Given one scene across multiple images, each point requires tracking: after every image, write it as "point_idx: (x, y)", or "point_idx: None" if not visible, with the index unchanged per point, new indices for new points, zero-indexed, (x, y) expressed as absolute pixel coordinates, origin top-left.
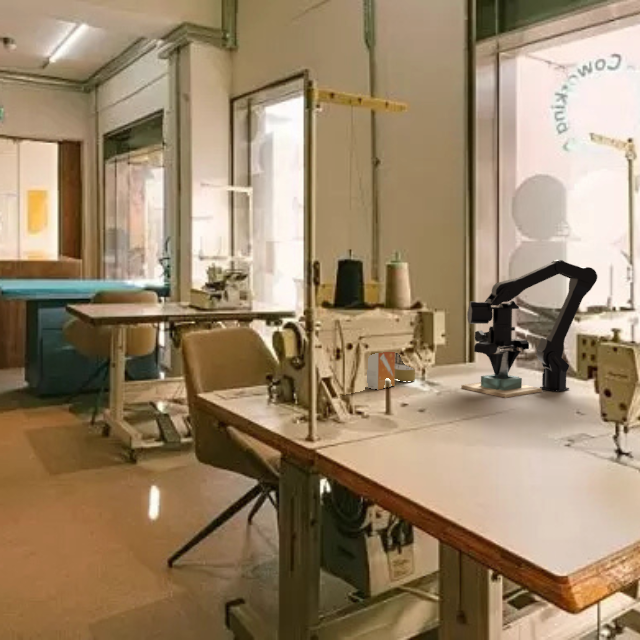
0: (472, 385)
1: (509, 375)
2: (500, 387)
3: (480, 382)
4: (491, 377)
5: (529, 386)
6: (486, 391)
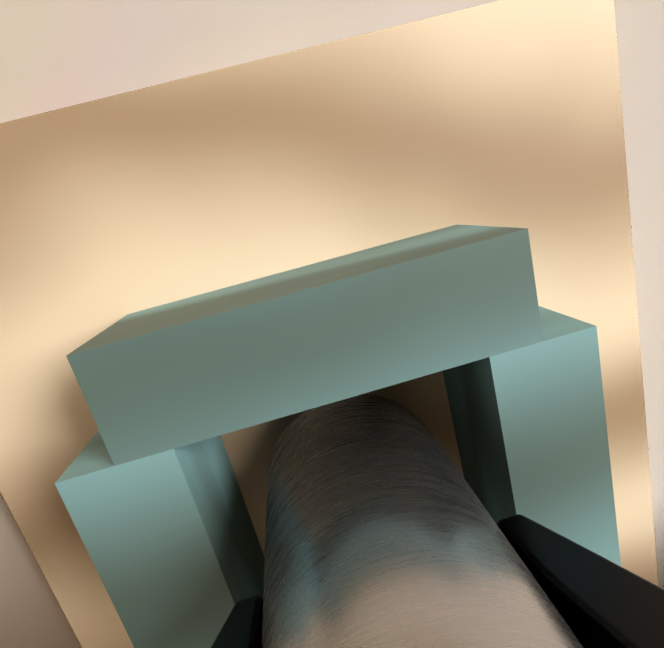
0: (7, 262)
1: (580, 449)
2: None
3: (247, 83)
4: (194, 528)
5: (633, 523)
6: (62, 583)
